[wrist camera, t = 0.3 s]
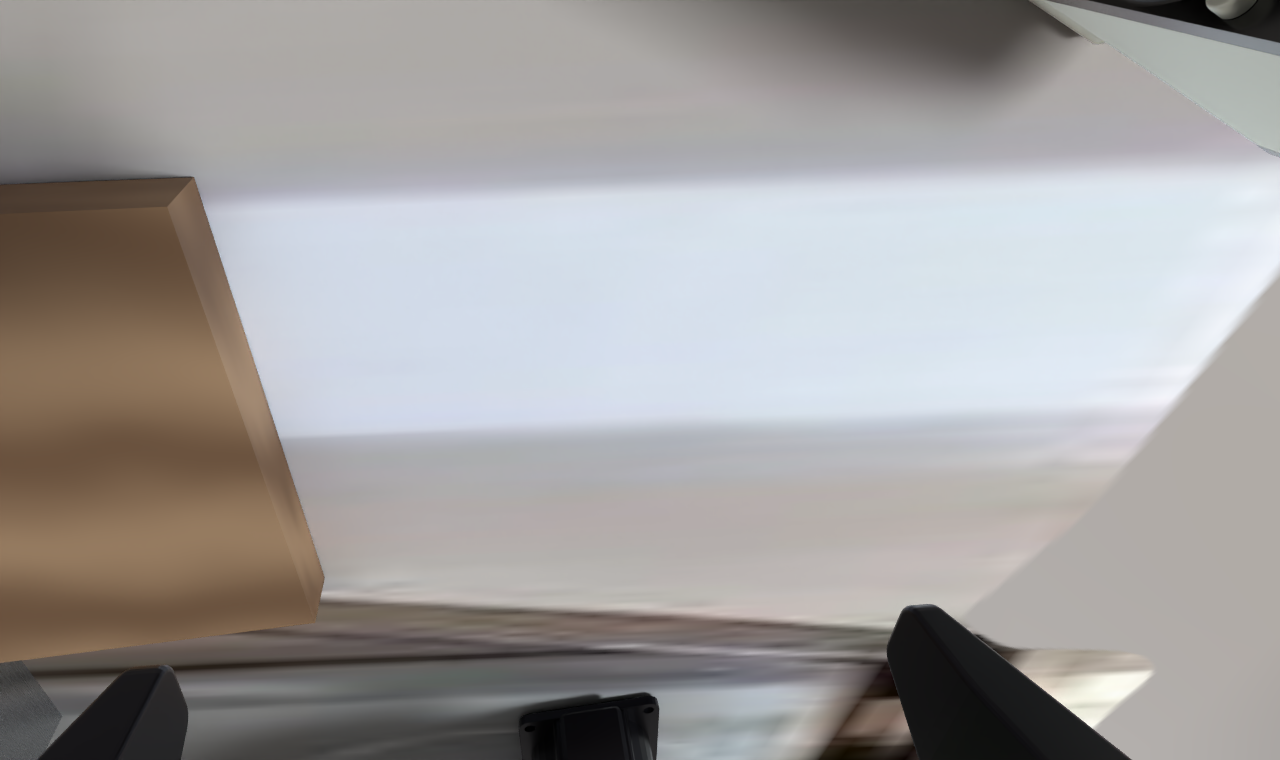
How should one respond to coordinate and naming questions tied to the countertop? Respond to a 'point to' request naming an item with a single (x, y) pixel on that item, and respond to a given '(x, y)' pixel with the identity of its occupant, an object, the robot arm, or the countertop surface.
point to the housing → (24, 714)
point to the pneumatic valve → (1196, 52)
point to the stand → (134, 431)
